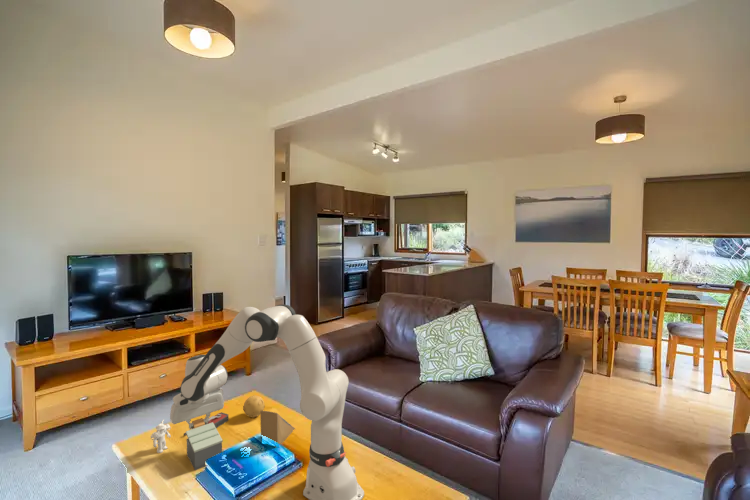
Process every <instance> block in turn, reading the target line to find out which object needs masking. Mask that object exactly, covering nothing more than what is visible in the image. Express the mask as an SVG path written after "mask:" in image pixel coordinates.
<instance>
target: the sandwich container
mask: <svg viewBox="0 0 750 500" xmlns="http://www.w3.org/2000/svg"><path fill="white" fill-rule="evenodd" d="M259 416H260V436H261V435H263V436H266V437H268V438H270V439H272V440H274V441H276V442H278V443H280V445H282V444H283V443H284V442H285V440H287V438H288V437H289V436H290V435H291V434H292V433H293V432H294V431H295V430H296V428H295V427H294V426H292V424H291V423H289V422H288V421H287V420H286V419H285V418H283V417H282V416H281V415H280V414H279V413H277V412H273V411H270V410H269V411H268V410H267V411H266V410H263V411H260V415H259ZM294 429H295V430H294ZM293 430H294V431H293Z"/></svg>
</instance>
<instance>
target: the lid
mask: <svg viewBox="0 0 750 500" xmlns="http://www.w3.org/2000/svg"><path fill="white" fill-rule="evenodd" d="M203 419H204V418H203V417H201V418H197V419H195V420H192V421H191V423H193V424H194V428H193V429H189V430H187V431H185V433H186V434H187V435H186V437H187V439H189V441H190V444H191V446H192V449H193V451H194V453H195V452H198V451H200V450H203V449H206V448H208V447H211V446H213V445H216V444H219V443H221V442H222V443H223V438H222V436H221V435H220V433H219V431H218V429H217V428H216V427H215V425H214V423H213V422H212V423H209V424H206V425H205V423H204V421H203Z"/></svg>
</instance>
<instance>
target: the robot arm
mask: <svg viewBox="0 0 750 500" xmlns="http://www.w3.org/2000/svg"><path fill="white" fill-rule="evenodd" d="M229 323H230V324H229V325H228V326H227V328H226V330H225V331H224V332H223V334H221V336H220V337H219V339H218V340H217V341H216V342H215V344H214V345H213V346H212V347H211V348H210V349H209V350H208V351H207V353H206V354H198V355H194V356H192V357H189V358H188V359H187V360H186V363H185V369H184V371H185V372H184V378H182V381H181V384H180V390H179V391H180V393H177V394H175V395H174V396H173V398H172V401H173V403H172V405H171V408H170V412H169V413H170V414H169V415H170V416H169V420H170V423H171V424H173V425H177V424H180V423H182V422H186V424H187V425H188V429H189V430H191V429H192V428H194V424H193V423H192V421H191V420H192V419H195V418H199V417H202V416H205V417H204V418H202V419H203V421H204V423H205V424H207V423H208V419H209V418H210V417H211V414H212V413H214V412H217V411H221V410H222V409H223V408H225V407H224V406H225V404H224V403H225V402H224V397H223V396H224V389H223V388H221V387H223V386H225V385H226V384H227V383H228V379H229V374H228V370H227V369H226V367H225V366H224V365H223V364H224V363H225V362H227V361H229V360H231V359H232V358H234V357H236V356H238V355H240V354H242V353H244V351H246V350H247V349H248V348H249V347H250V346H251V345H252V343H253V342H255V343H261V342H262V343H263V342H264V343H265V342H269V341H270V342H271V341H275V340H276V338H279V339H281V340H282V341H283V343H284V344H285V347H286V349H287V350H288V353H289V355H290V358H291V360H292V361H293V364H294V366H295V368H296V372H297V375H298V379H299V385H300V401H299V408H300V412H301V413H302V415H303V416H304V417H305V418H306V419H307V420H310V421H311V424H310V445H309V459H310V460H309V463H308V466H307V470H306V479H305V480H306V481H305V487H304V489H303V492H302V495H303V496H304V497H305V498H307V499H308V500H363V498H364V497H365V491H364V489H363V488H362V486H361V485H360V484H359V483H358V480H357V476H356V474H355V473H356V468H355V466H354V465H353V466H351V465H350V463H349V460H348V458H347V457H346V454H347V452H346V451H345V449H344V448H345V447H344V444H343V442H342V439H343V438H342V435H343V434H342V428H343V427H342V425H343V424H342V423H343V416H344V411H345V404H346V397H347V391H348V388H349V383H350V382H349V377H348V375H347V374H346V373H345V372H344V371H343V370H341V369H338V368H337V369H336V368H334V369H331V370H328V371H327V368H326V367H327V366H326V360H327V358H326V354H325V353H326V352H325V351H324V349H323V348H322V345H321V343H320V341H319V338H318V337H317V334H316V333H315V331H314V329H313V328H312V326H311V325H310V323H309V322H308V320H307V319H306V318H305V316H304V315H302V314H296V311H295V309H294V308H293V306H291V305H288V304H277V305H275V306H271V307H266V308H264V309H261V310H260V309H259V308H257V307H254V306H245V307H243V308H242V309H241V310H239V312H238V313H237V314H236V315H235V317H234V318H232V320H231V321H230V322H229Z"/></svg>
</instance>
